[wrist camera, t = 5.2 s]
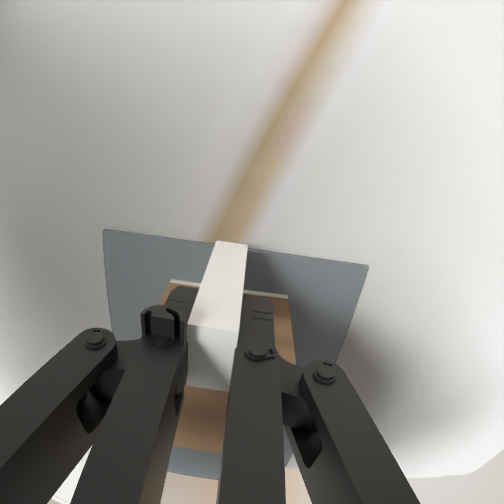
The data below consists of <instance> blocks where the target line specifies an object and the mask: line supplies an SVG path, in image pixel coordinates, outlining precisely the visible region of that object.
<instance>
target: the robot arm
mask: <svg viewBox="0 0 504 504" xmlns="http://www.w3.org/2000/svg"><path fill="white" fill-rule="evenodd" d="M247 249H248V245H246V244H239V243H232V242H224V241H217V240H216V243H215V246H214V249H213V251H212V254H211V257H210V260H209V263H208V265H207V268H206V271H205V274H204V277H203V280H202V282H201V285H200V288H192V287H186V286H178V287H176V288H175V289H173V290H172V291H171V292H170V294H169V296H168V298H167V300H166V302H165V304H164V305H155V306H150V307H148V308H146V309H144V310H143V311H142V312H141V314H140V316H141V329H142V337H141V338H140V339H137V340H129V341H116V338H115V336H114V334H113V333H112V332H110V331H109V330H106V329H103V328H91V329H87V330H85V331H83V332H82V333H80V334H79V335H78V336H76V337H75V338H74V339H73V340H72V341H71V342H69V343H68V344H67V345H66V346H65V347H64V348H63V349H61V350H60V351H59V352H58V353H57V354H56V355H55V356H54V357H52V358H51V359H50V360H49V361H48V362H47V363H46V364H45V365H44V366H42V367H41V368H40V369H39V370H38V371H37V372H36V373H35V374H34V375H33V376H31V377H30V378H29V379H28V380H27V381H26V382H25V383H24V384H23V385H22V386H21V387H20V388H18V389H17V390H16V391H15V392H14V393H13V394H12V395H11V396H10V397H9V398H8V399H7V400H6V401H5V402H4V403H3V404H2V405H0V504H47V503H48V502H49V500H50V499H51V498H52V496H53V495H54V494H55V492H56V491H57V490H58V489H59V487H60V486H61V485H62V483H63V482H64V481H65V479H66V478H67V477H68V476H69V474H70V473H71V472H72V470H73V469H74V468H75V466H76V465H77V464H78V463H79V461H80V460H81V459H82V457H83V456H84V455H85V454H86V452H87V451H88V450H89V448H90V447H91V446H92V444H93V446H92V448H91V450H90V453H89V455H88V458H87V461H86V463H85V466H84V468H83V471H82V473H81V476H80V479H79V481H78V484H77V487H76V489H75V492H74V495H73V498H72V500H71V503H70V504H160V501H161V497H162V492H163V487H164V483H165V478H166V473H167V469H168V465H169V460H170V456H171V451H172V447H173V443H174V438H175V434H176V430H177V425H178V421H179V417H180V413H181V409H182V404H183V400H184V386H185V382H186V379H187V385H188V386H193V387H199V388H206V389H212V390H219V391H227V392H229V397H228V404H227V411H226V421H225V430H224V439H223V447H222V456H221V465H220V474H219V484H218V492H217V501H216V504H286V499H285V497H286V496H285V466H284V440H283V425H284V427H285V431H286V433H287V436H288V439H289V442H290V445H291V447H292V450H293V453H294V456H295V458H296V461H297V464H298V467H299V469H300V472H301V475H302V478H303V480H304V483H305V486H306V488H307V491H308V494H309V496H310V499H311V502H312V504H420V502H419V501H418V499H417V497H416V495H415V493H414V492H413V490H412V488H411V486H410V484H409V483H408V481H407V479H406V477H405V476H404V474H403V472H402V470H401V469H400V467H399V465H398V463H397V462H396V460H395V458H394V456H393V455H392V453H391V451H390V449H389V448H388V446H387V444H386V442H385V441H384V439H383V437H382V435H381V434H380V432H379V430H378V429H377V427H376V425H375V423H374V422H373V420H372V418H371V417H370V415H369V413H368V411H367V410H366V408H365V406H364V405H363V403H362V401H361V400H360V398H359V396H358V394H357V393H356V391H355V389H354V388H353V386H352V384H351V383H350V381H349V379H348V378H347V376H346V374H345V372H344V371H343V370H342V369H341V368H340V367H339V366H337V365H336V364H334V363H332V362H329V361H326V360H315V361H311V362H309V363H308V364H307V365H305V367H301V366H298V365H295V364H292V363H290V362H288V361H286V360H285V359H283V358H282V357H281V356H280V355H279V353H278V351H277V349H276V348H275V336H274V316H273V304H272V303H271V301H270V300H269V299H268V297H264V296H256V295H248V294H243V287H244V277H245V268H246V258H247Z"/></svg>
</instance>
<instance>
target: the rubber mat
mask: <svg viewBox="0 0 504 504" xmlns="http://www.w3.org/2000/svg"><path fill="white" fill-rule="evenodd" d="M103 246H104V261H105V274H106V284H107V294H108V302H109V310H110V318H111V325H112V332H113V334H114V336H115V338H116V341H129V340H137V339H140V338H141V337H142V329H141V316H140V314H141V312H142V311H143V310H144V309H146V308H148V307H150V306H155V305H158V303H159V302H160V300H161V298H162V296H163V294H164V292H165V290H166V288H167V286H168V284H169V282H170V281H171V279H175V280H181V281H188V282H194V283H201V282H202V280H203V277H204V274H205V271H206V268H207V265H208V263H209V260H210V257H211V254H212V251H213V249H214V246H215V244H211V243H203V242H196V241H189V240H181V239H174V238H167V237H159V236H152V235H145V234H137V233H130V232H122V231H115V230H108V229H104V230H103ZM368 268H369V267H368V266H367V265H362V264H355V263H348V262H341V261H334V260H326V259H319V258H312V257H305V256H298V255H290V254H283V253H276V252H269V251H262V250H254V249H247V258H246V268H245V277H244V287H243V290H251V291H258V292H266V293H274V294H282V295H288V303H289V310H290V318H291V326H292V334H293V342H294V350H295V358H296V365H298V366H301V367H305V365H307V364H308V363H309V362H311V361H315V360H326V361H329V362H332V363H335V360H336V358H337V355H338V353H339V350H340V348H341V345H342V343H343V340H344V338H345V335H346V332H347V330H348V327H349V324H350V321H351V319H352V316H353V313H354V310H355V307H356V305H357V302H358V299H359V296H360V293H361V290H362V287H363V284H364V281H365V278H366V274H367V271H368ZM283 440H284V466H286V464H287V462H288V461H289V459H290V457H291V455H292V453H293V450H292V447H291V445H290V442H289V439H288V436H287V433H286V431H285V427H284V425H283ZM221 456H222V453H214V452H207V451H200V450H194V449H188V448H183V447H178V446H173V447H172V451H171V456H170V460H169V465H168V469H167V471H168V472H173V473H178V474H183V475H189V476H195V477H201V478H208V479H216V480H219V474H220V465H221Z"/></svg>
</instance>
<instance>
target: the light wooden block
mask: <svg viewBox="0 0 504 504" xmlns="http://www.w3.org/2000/svg"><path fill="white" fill-rule="evenodd" d="M200 285H201V283H194V282H188V281H181V280H175V279H171V281H170V282H169V284H168V286H167V288H166V290H165V292H164V294H163V296H162V298H161V300H160V302H159V303H158V305H164V304H165V302H166V300H167V298H168V296H169V294H170V292H171V291H172V290H173V289H175V288H176V287H178V286H186V287H192V288H200ZM243 294H248V295H256V296H264V297H268V299H269V300H270V301H271V303H272V304H273V316H274V336H275V348H276V349H277V351H278V353H279V355H280V356H281V357H282V358H283V359H285V360H286V361H288V362H290V363H292V364H295V365H296V358H295V350H294V342H293V334H292V326H291V318H290V310H289V303H288V295H282V294H274V293H266V292H258V291H251V290H243ZM228 397H229V392H227V391H219V390H212V389H206V388H199V387H193V386H188V385H187V379H186V382H185V386H184V400H183V404H182V409H181V413H180V417H179V421H178V425H177V430H176V434H175V438H174V443H173V446H178V447H183V448H188V449H194V450H200V451H207V452H214V453H222V447H223V439H224V430H225V421H226V411H227V404H228Z"/></svg>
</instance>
